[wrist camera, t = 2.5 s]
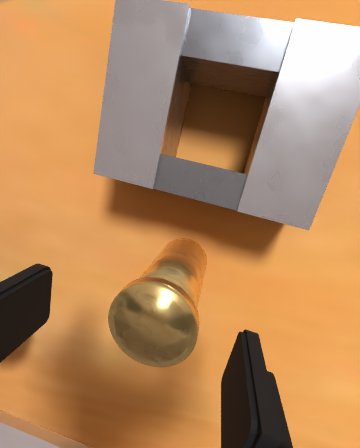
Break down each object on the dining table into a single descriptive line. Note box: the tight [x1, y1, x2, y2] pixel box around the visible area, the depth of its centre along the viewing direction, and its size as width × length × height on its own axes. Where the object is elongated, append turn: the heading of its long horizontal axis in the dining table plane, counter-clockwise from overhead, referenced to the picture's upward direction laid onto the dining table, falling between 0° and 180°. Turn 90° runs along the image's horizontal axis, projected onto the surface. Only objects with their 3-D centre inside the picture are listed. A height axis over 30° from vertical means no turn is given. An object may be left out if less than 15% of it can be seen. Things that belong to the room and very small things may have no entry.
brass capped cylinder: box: [108, 238, 207, 367], centre depth 15 cm, size 5×5×9 cm
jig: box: [94, 0, 360, 230], centre depth 15 cm, size 14×10×4 cm
